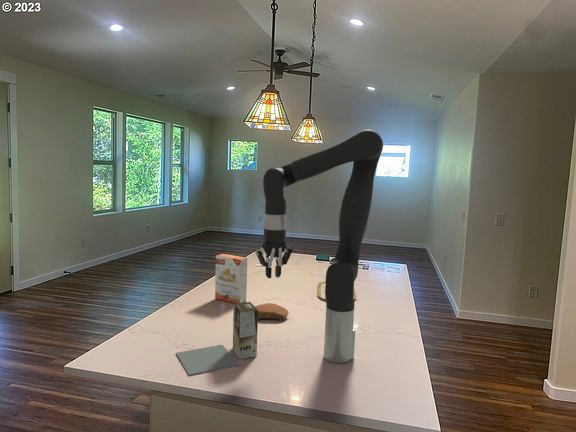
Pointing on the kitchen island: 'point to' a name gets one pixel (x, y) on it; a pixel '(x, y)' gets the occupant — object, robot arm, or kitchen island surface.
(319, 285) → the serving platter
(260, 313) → the ceramic shard
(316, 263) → the kitchen island surface
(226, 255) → the cracker box
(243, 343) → the coffee box
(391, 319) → the kitchen island surface
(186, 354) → the mat
